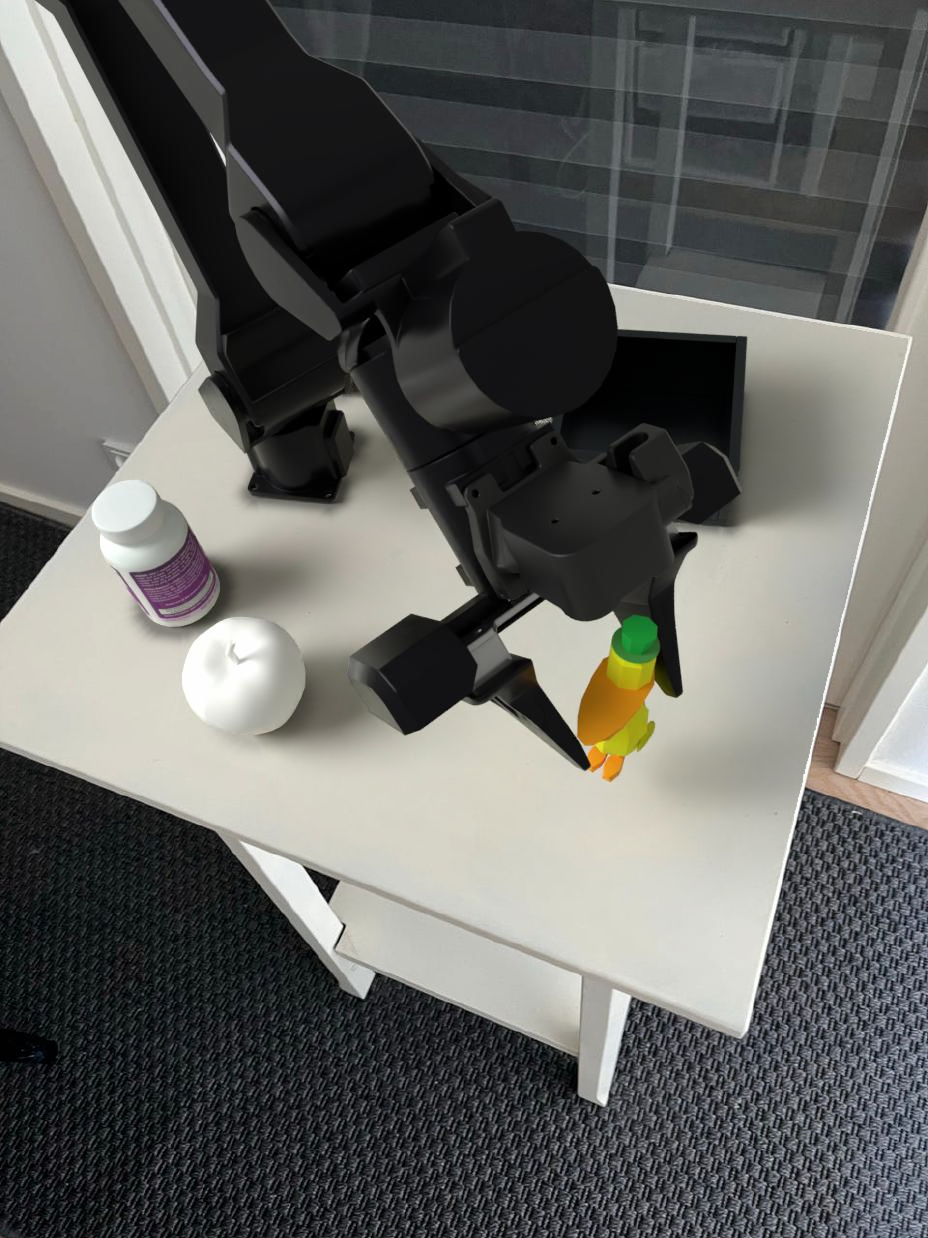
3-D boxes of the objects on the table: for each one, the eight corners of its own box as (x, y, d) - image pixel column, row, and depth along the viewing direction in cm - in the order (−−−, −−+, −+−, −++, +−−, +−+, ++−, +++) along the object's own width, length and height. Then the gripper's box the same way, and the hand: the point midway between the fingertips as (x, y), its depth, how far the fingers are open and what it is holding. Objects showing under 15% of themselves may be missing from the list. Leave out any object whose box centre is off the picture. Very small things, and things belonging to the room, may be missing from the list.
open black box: (546, 510, 63) (544, 454, 58) (570, 385, 69) (570, 325, 64) (726, 527, 61) (739, 470, 56) (735, 396, 67) (747, 335, 62)
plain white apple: (276, 775, 55) (235, 715, 48) (183, 726, 57) (132, 662, 50) (341, 681, 57) (311, 612, 51) (250, 638, 60) (210, 566, 53)
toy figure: (603, 831, 47) (629, 722, 37) (542, 796, 49) (552, 682, 39) (662, 731, 50) (701, 605, 40) (604, 700, 52) (628, 571, 42)
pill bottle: (234, 570, 63) (184, 476, 55) (202, 636, 60) (145, 547, 52) (164, 557, 64) (105, 463, 56) (129, 621, 61) (62, 532, 53)
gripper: (324, 563, 29) (557, 929, 33) (746, 286, 34) (902, 636, 38) (264, 555, 39) (447, 835, 44) (594, 343, 44) (730, 614, 49)
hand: (629, 730), depth 43 cm, fingers closed on toy figure, 5 cm apart
